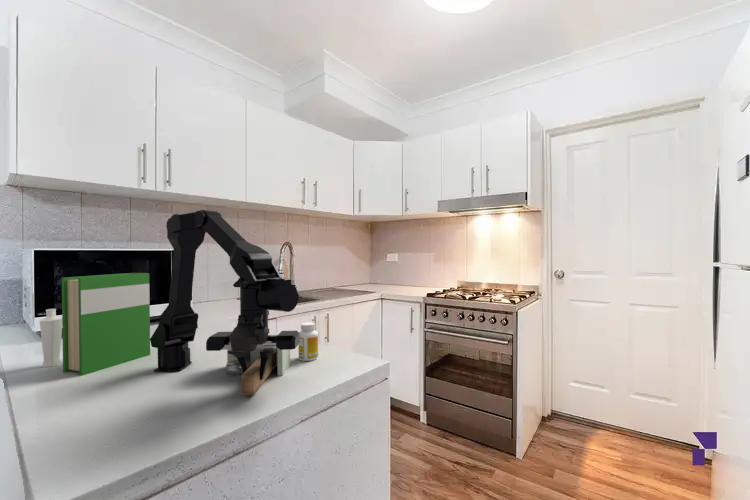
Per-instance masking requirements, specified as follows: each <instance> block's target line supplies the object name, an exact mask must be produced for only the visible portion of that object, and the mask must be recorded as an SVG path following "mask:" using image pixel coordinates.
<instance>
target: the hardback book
mask: <svg viewBox="0 0 750 500" xmlns="http://www.w3.org/2000/svg"><path fill="white" fill-rule="evenodd" d="M150 296H151V295H150V273H148V272H147V273H146V272H129V273H127V272H126V273H111V274H109V273H108V274H98V275H97V274H96V275H84V276H83V275H82V276H81V275H79V276H69V277H68V276H67V277H61V316H62V317H61V318H62V373H65V374H66V373H69V372H73V371H75V372H76V371H77V372H78V373H79V376H86V375H88V374H93V373H95V372H99V371H102V370H105V369H109V368H113V367H115V366H119V365H122V364H125V363H129V362H133V361H134V360H138V359H142V358H144V357H147V356H151V341H150V338H151V320H150V319H151V313H150V312H151V310H150V309H151V308H150V307H151V306H150V301H151V300H150Z"/></svg>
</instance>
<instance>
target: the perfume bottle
mask: <svg viewBox="0 0 750 500" xmlns="http://www.w3.org/2000/svg"><path fill="white" fill-rule="evenodd" d="M56 311H57V308H48V309H45V313H46V316H45V317H43V318H42V319H41V320H40V321H39V329H40V338H41V349H42V356H43V362H42V365H41V366H42V368H47V367H49V368H50V367H55V366H58V365H61V364H62V361H61V358H60V357H61V346H62V345H61V344H62V336H63V334H62V317H60V316H57V312H56Z"/></svg>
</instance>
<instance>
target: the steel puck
mask: <svg viewBox="0 0 750 500" xmlns="http://www.w3.org/2000/svg"><path fill="white" fill-rule="evenodd" d="M225 367H226V370H225V371H226V373H225V374H226V376H229V375H230V376H231V377H236V376H237V375H238V376H241V375H242V374H243V373H244V372H243V370H242V367H241V365H240V363H239V361H238V360H233V361H230V362H228V363H227V362H226V364H225ZM230 376H229V377H230Z"/></svg>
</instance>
